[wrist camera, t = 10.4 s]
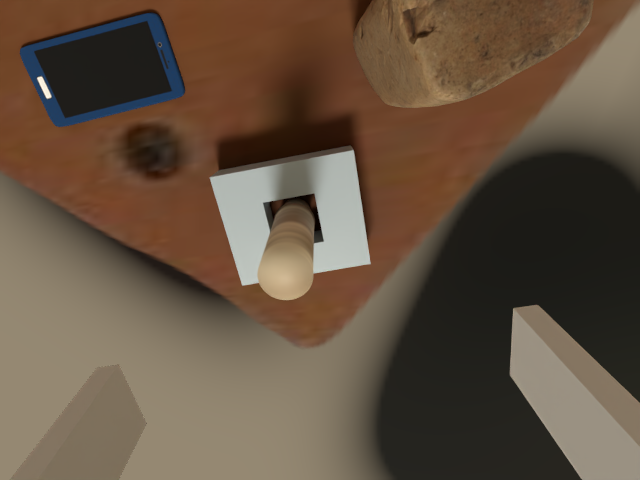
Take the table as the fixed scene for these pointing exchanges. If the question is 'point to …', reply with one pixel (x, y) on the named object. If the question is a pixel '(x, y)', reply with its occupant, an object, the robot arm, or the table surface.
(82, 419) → the robot arm
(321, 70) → the table surface
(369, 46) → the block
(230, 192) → the board
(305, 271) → the peg
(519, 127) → the table surface
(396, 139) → the table surface
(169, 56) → the cell phone
